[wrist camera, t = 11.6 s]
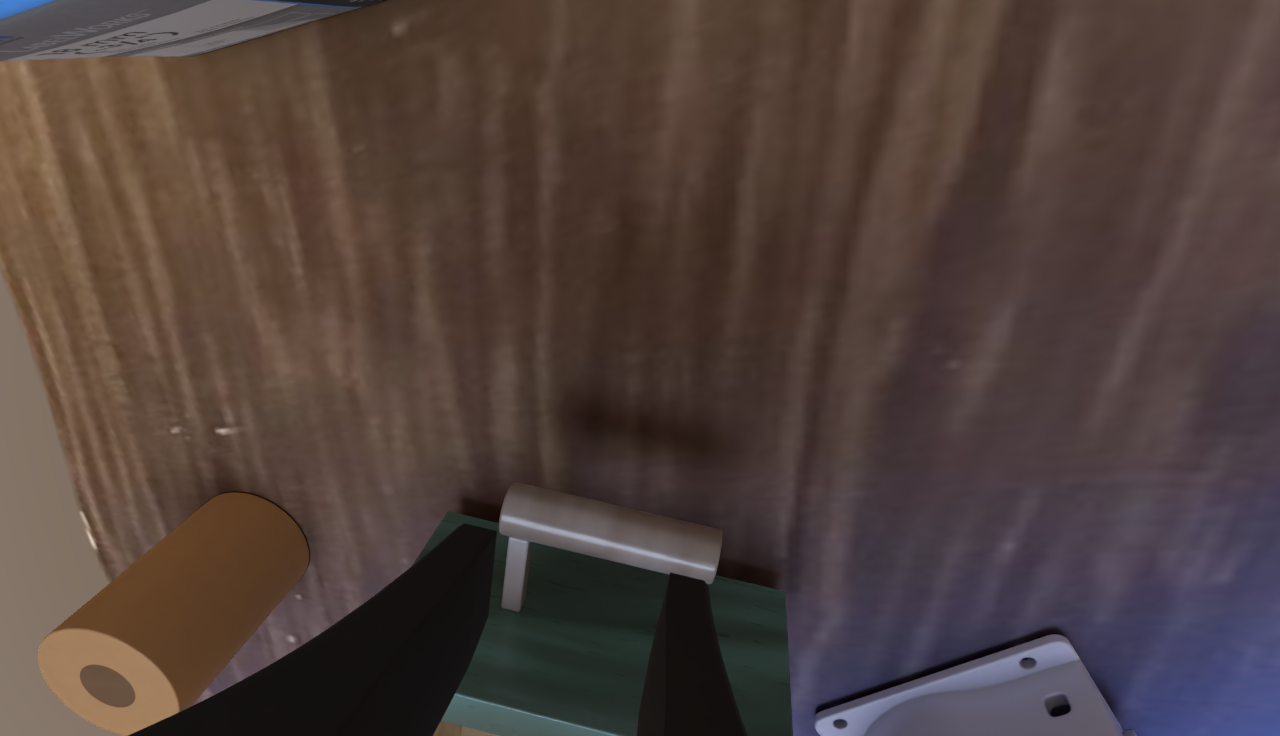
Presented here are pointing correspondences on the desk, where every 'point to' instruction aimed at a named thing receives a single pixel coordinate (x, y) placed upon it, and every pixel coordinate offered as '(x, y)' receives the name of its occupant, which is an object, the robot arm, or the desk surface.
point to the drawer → (603, 620)
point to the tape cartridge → (148, 25)
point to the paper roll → (175, 615)
